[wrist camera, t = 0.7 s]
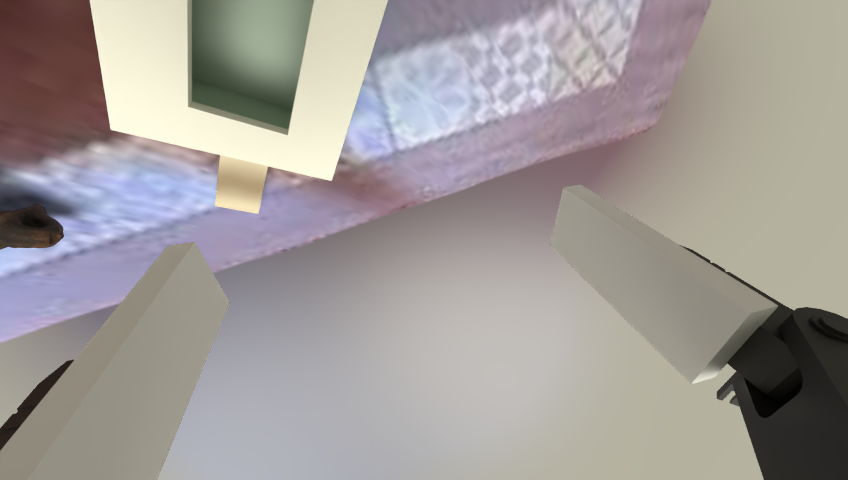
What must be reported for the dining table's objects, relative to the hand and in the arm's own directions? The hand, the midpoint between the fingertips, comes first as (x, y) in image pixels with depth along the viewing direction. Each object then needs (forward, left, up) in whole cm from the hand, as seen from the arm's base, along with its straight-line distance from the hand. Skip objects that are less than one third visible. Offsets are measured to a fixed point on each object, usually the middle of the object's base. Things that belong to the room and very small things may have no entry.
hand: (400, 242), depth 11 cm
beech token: (+14, -7, -26) cm, 30 cm away
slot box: (0, -7, -26) cm, 26 cm away
